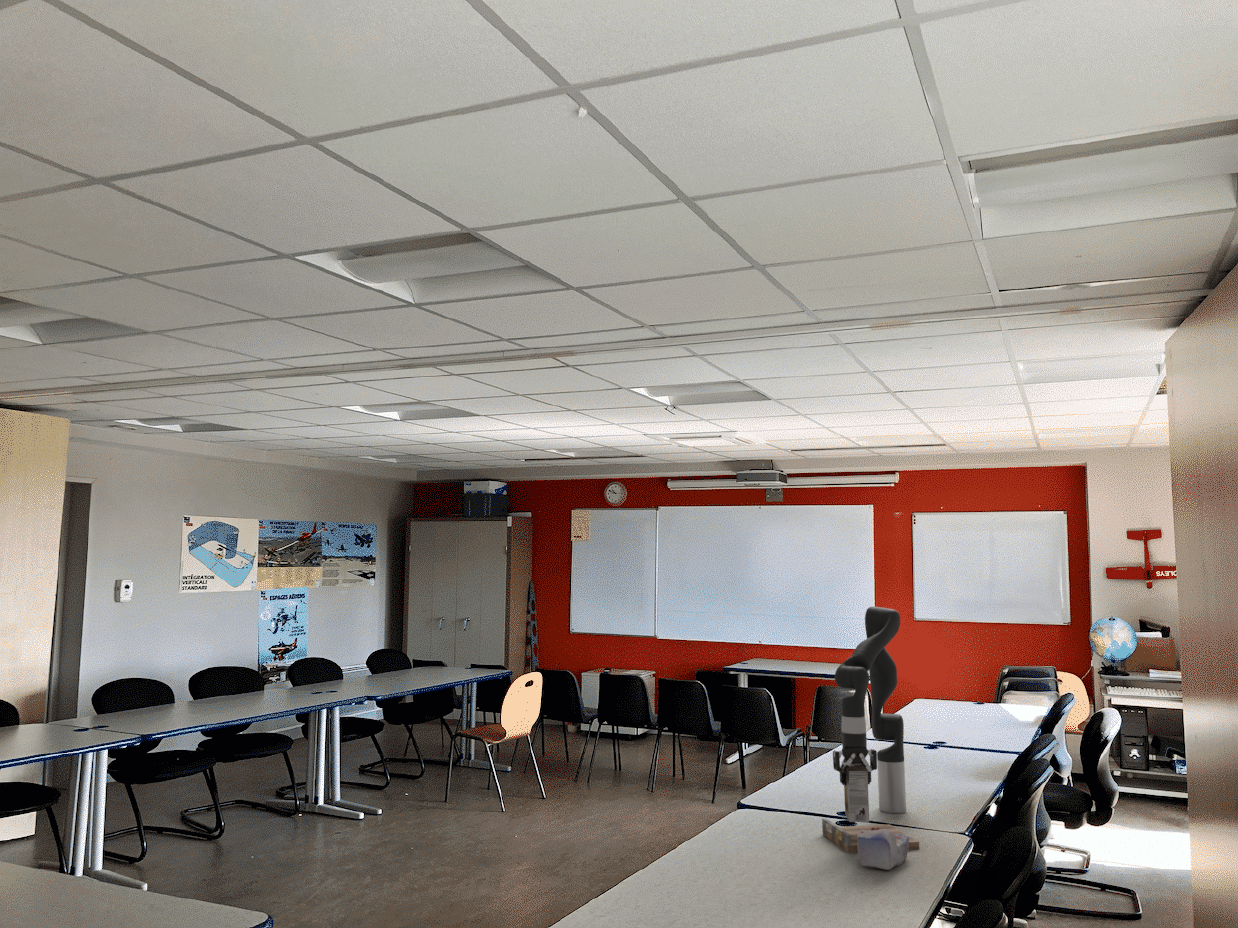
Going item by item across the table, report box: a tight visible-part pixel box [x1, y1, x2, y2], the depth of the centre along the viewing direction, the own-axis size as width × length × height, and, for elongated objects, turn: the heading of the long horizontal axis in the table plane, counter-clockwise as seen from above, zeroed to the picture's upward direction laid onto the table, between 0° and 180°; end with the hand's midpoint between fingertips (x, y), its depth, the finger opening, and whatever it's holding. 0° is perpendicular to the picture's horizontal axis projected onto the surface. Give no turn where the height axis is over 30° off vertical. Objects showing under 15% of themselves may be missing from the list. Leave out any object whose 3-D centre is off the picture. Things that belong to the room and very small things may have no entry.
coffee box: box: [843, 763, 870, 823], centre depth 292 cm, size 9×6×16 cm
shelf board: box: [821, 817, 920, 854], centre depth 291 cm, size 20×23×5 cm
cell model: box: [857, 828, 910, 871], centre depth 270 cm, size 13×11×20 cm
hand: (855, 784), depth 292 cm, fingers closed on coffee box, 7 cm apart
